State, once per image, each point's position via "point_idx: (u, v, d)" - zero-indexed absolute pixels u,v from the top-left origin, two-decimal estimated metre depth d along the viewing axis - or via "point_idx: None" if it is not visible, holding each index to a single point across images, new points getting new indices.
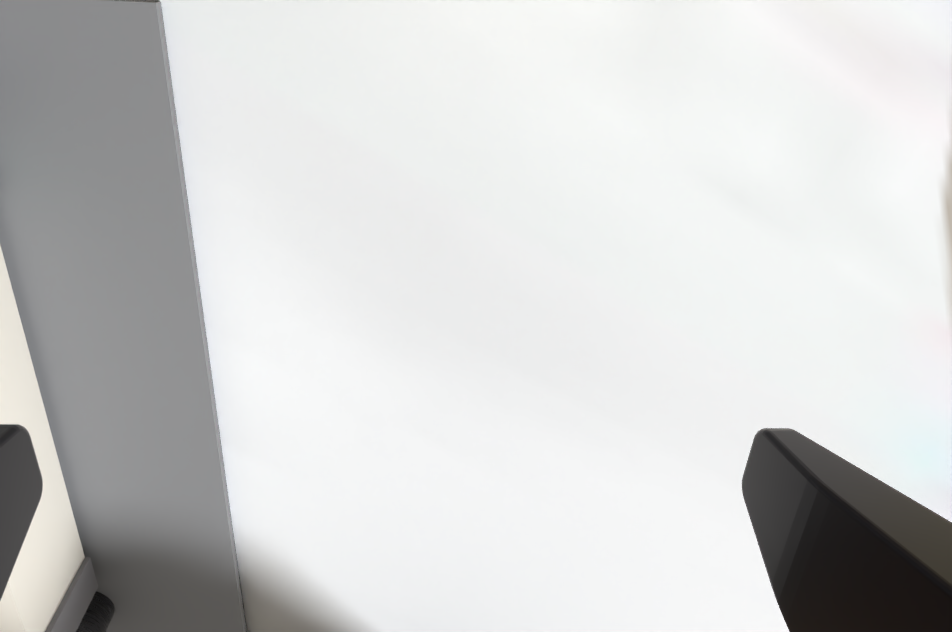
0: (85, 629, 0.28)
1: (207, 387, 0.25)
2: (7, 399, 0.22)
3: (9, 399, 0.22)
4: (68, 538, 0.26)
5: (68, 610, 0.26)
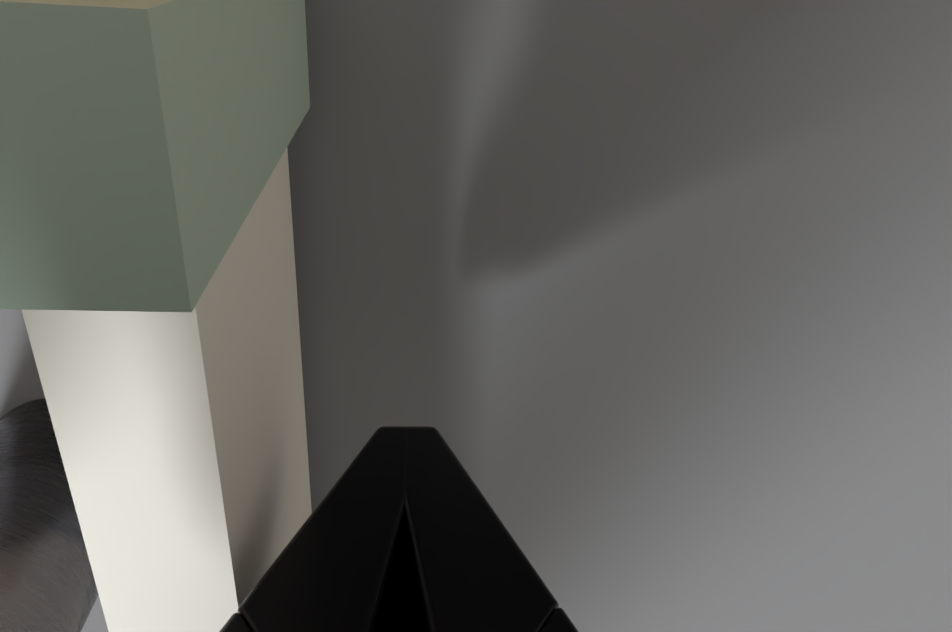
0: None
1: None
2: None
3: None
4: None
5: None
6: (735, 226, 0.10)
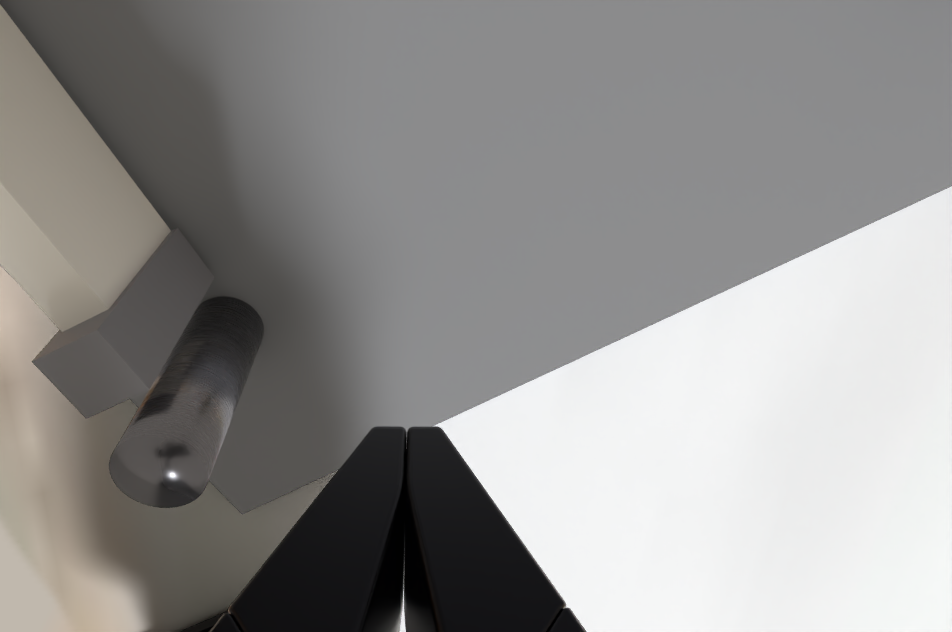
0: (251, 366, 0.19)
1: (653, 321, 0.21)
2: None
3: None
4: (119, 184, 0.17)
5: (159, 275, 0.17)
6: None
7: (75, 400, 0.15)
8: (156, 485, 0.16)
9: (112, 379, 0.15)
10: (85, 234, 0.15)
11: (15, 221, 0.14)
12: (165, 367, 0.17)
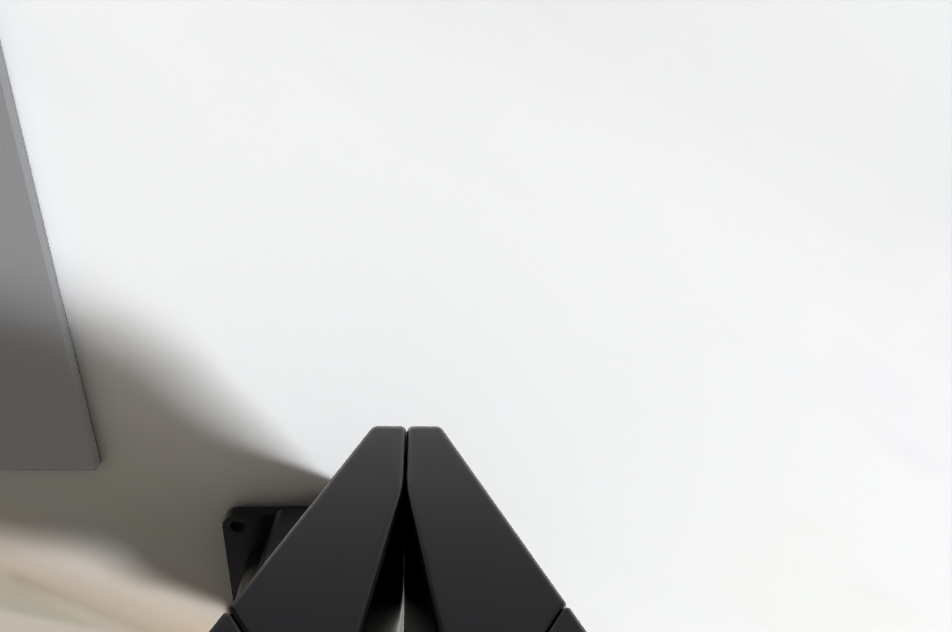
0: None
1: None
2: None
3: None
4: None
5: None
6: None
7: None
8: None
9: None
10: None
11: None
12: None
